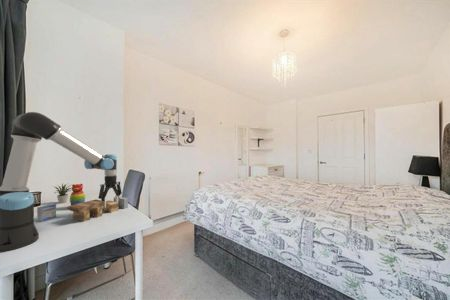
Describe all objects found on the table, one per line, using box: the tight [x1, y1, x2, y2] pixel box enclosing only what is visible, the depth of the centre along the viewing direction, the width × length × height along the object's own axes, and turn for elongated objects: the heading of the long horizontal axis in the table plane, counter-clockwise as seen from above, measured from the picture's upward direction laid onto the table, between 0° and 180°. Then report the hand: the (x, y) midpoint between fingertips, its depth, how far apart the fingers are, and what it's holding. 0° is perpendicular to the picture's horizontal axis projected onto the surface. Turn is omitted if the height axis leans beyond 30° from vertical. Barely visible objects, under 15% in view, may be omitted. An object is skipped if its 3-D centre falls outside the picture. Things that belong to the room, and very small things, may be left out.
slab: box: [68, 199, 105, 213], centre depth 123 cm, size 16×10×3 cm, turn 156°
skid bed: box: [72, 206, 103, 222], centre depth 123 cm, size 11×12×6 cm
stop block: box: [113, 196, 129, 209], centre depth 145 cm, size 3×12×7 cm, turn 66°
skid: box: [102, 200, 119, 213], centre depth 138 cm, size 12×5×6 cm, turn 57°
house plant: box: [54, 182, 72, 204], centre depth 154 cm, size 14×14×16 cm
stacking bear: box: [67, 183, 86, 211], centre depth 144 cm, size 11×10×18 cm
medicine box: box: [36, 203, 57, 222], centre depth 120 cm, size 8×4×9 cm, turn 168°
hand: (110, 206), depth 138 cm, fingers open, 9 cm apart
